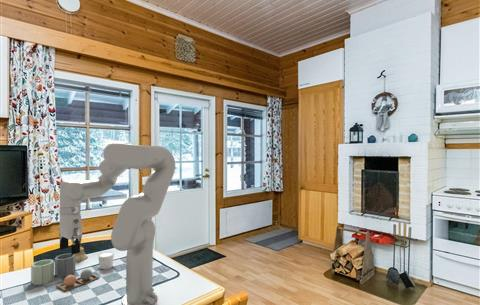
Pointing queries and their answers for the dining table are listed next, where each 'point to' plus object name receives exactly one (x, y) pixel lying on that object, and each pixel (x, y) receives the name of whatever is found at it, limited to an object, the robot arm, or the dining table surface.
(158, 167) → the robot arm
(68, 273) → the grey ribbed bin
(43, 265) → the green ribbed pot
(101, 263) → the white cylinder
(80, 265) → the dining table surface
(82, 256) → the hand bell
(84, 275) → the grey ball
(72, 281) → the terracotta ball
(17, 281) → the dining table surface
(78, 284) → the holder
